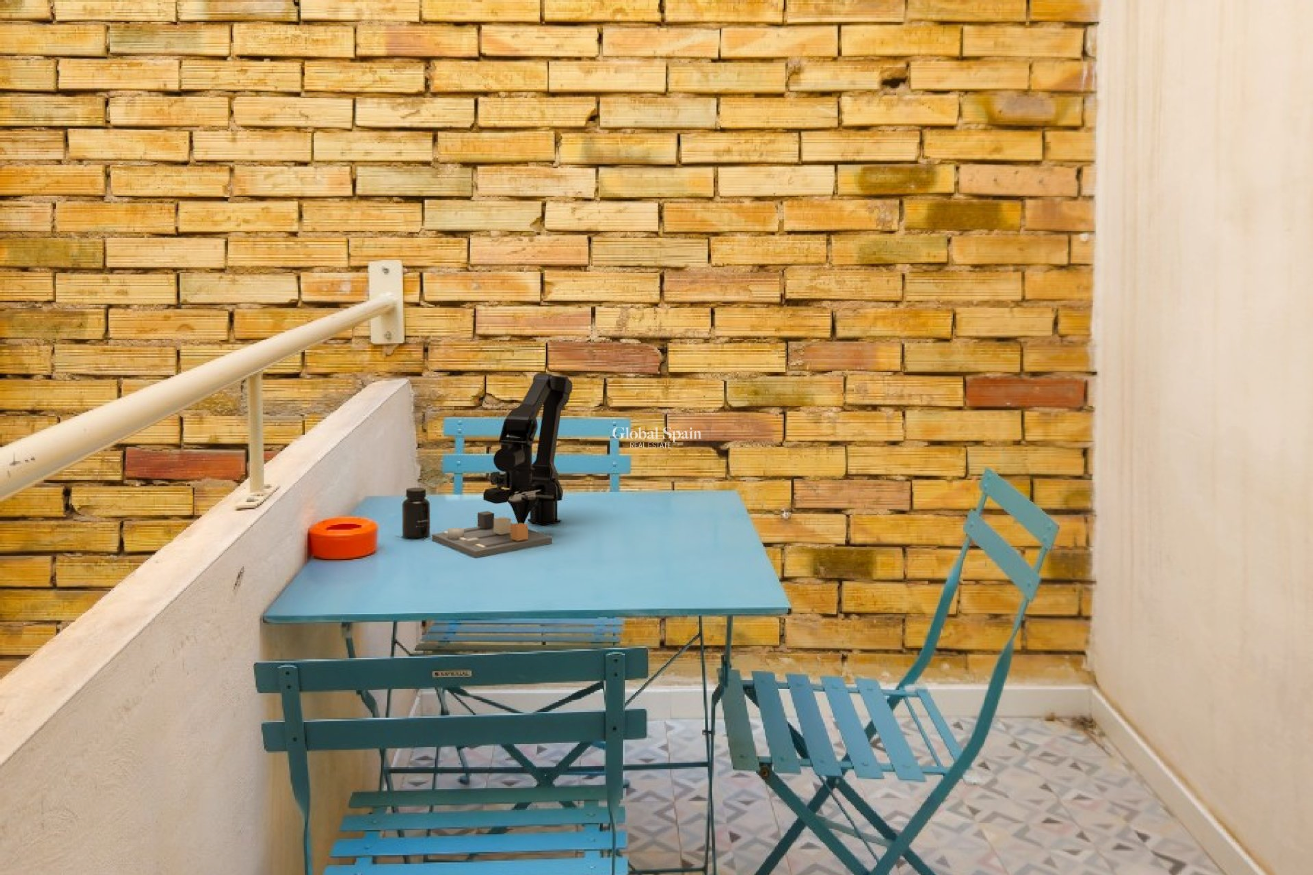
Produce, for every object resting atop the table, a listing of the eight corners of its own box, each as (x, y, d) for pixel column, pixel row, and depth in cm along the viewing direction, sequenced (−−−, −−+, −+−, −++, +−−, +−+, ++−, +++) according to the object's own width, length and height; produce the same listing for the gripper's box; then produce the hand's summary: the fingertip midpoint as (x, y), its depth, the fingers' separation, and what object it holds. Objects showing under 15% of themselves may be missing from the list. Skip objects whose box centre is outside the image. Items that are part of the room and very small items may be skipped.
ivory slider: (504, 530, 307) (503, 516, 307) (510, 532, 305) (510, 519, 304) (493, 532, 305) (493, 518, 305) (500, 534, 303) (500, 520, 303)
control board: (507, 527, 318) (507, 513, 318) (552, 543, 303) (552, 529, 303) (432, 540, 304) (432, 526, 304) (475, 557, 289) (475, 543, 289)
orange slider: (520, 536, 302) (520, 522, 301) (527, 538, 299) (527, 524, 299) (510, 538, 300) (510, 524, 299) (517, 540, 298) (517, 526, 297)
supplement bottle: (424, 540, 304) (423, 492, 302) (398, 538, 305) (397, 491, 303) (434, 533, 311) (433, 487, 309) (409, 531, 312) (408, 485, 310)
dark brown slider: (487, 524, 313) (487, 511, 312) (494, 526, 311) (494, 513, 310) (477, 526, 311) (477, 512, 310) (484, 528, 309) (483, 514, 308)
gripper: (533, 455, 318) (533, 513, 321) (471, 463, 306) (471, 524, 309) (558, 461, 310) (558, 522, 312) (495, 470, 298) (496, 533, 300)
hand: (520, 525), depth 309 cm, fingers closed
